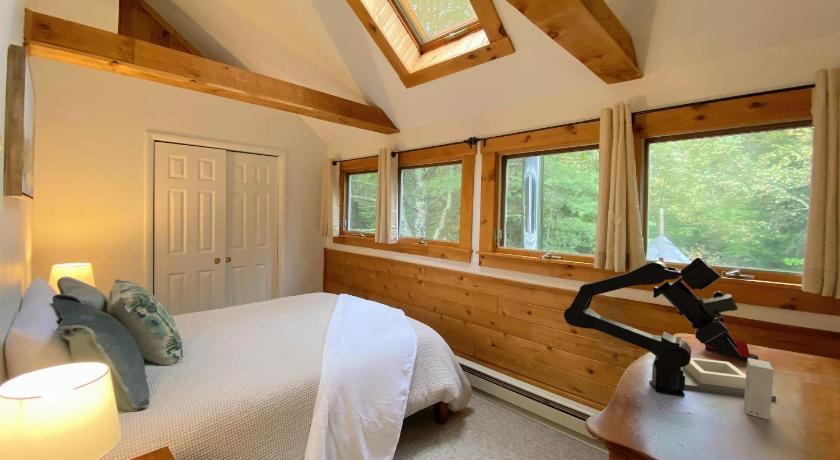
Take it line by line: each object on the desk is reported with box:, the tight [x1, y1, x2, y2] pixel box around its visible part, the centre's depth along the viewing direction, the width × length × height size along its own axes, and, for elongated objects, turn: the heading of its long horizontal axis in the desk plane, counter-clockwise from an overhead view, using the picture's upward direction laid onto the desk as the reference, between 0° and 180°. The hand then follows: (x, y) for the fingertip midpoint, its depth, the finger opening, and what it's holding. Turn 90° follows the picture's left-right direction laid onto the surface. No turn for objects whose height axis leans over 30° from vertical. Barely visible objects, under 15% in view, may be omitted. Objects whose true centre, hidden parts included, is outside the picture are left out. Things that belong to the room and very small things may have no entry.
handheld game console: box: [704, 338, 759, 363], centre depth 124 cm, size 12×11×7 cm
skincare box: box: [743, 358, 774, 421], centre depth 88 cm, size 6×4×12 cm
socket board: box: [681, 357, 777, 402], centre depth 104 cm, size 20×16×4 cm
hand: (737, 352), depth 90 cm, fingers open, 9 cm apart
